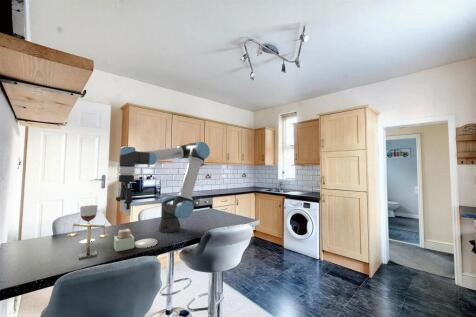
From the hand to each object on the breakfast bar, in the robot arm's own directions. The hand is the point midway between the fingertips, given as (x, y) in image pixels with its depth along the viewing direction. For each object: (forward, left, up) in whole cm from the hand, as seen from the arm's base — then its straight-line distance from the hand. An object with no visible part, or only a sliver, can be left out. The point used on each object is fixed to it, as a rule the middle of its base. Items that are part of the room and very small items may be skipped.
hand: (124, 213), depth 116 cm
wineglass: (+15, -24, -18) cm, 34 cm away
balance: (+16, +3, -18) cm, 24 cm away
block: (0, 0, -18) cm, 18 cm away
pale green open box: (0, 0, -18) cm, 18 cm away
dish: (-11, +2, -18) cm, 21 cm away
